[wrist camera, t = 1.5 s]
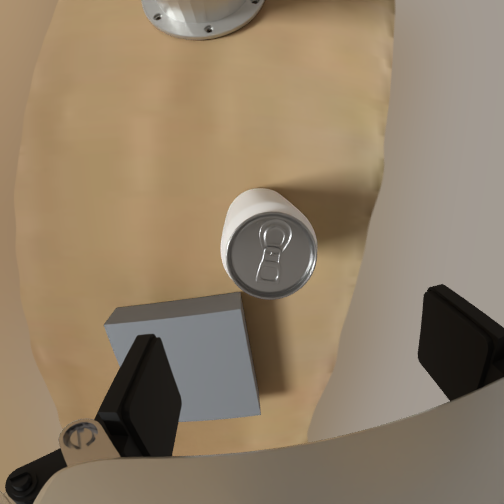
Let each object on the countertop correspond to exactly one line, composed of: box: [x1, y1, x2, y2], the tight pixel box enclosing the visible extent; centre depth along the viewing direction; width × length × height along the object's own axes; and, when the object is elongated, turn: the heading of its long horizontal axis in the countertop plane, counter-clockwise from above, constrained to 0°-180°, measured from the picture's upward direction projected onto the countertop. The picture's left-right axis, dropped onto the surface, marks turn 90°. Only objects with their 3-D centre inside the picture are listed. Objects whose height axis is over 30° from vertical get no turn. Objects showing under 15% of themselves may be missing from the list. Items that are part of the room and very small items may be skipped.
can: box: [221, 188, 317, 299], centre depth 25 cm, size 6×6×12 cm
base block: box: [104, 292, 261, 422], centre depth 33 cm, size 14×14×4 cm
